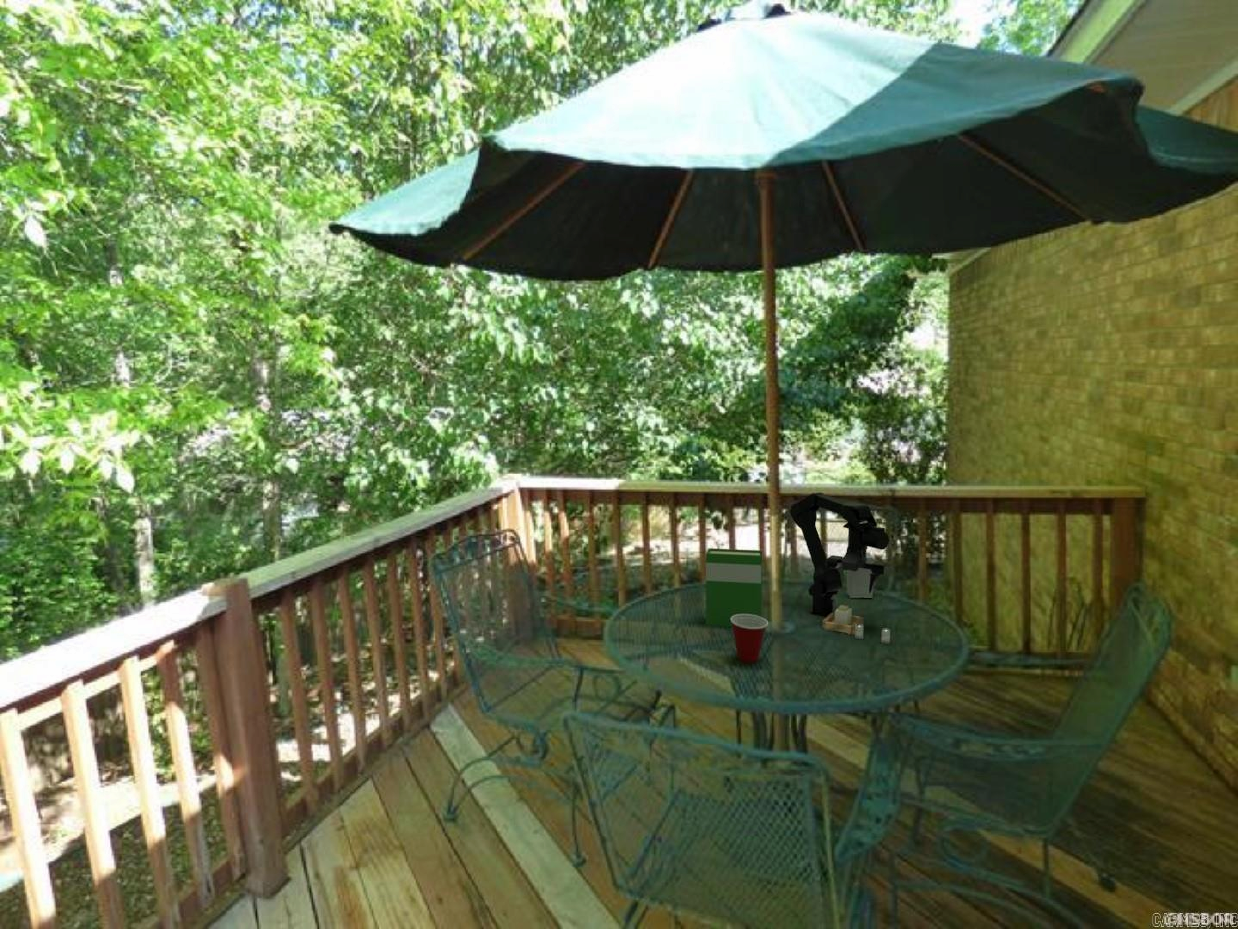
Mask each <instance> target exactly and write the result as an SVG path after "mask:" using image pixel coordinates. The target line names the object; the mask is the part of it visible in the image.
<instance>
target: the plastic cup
mask: <svg viewBox="0 0 1238 929" xmlns="http://www.w3.org/2000/svg"><path fill="white" fill-rule="evenodd" d="M730 619H731V622H732V626H733V627H732V631H733V636H734V637H733V638H734V644H735V645H734V646H735V648H736V654H737V659H738V660H739V661H740V662H742V663H748V664H750V663H756V662H758V660H759V658H760V652H761V649H762V643H763V638H764V635H765V634H764V633H765V631H766V628H767V627H768V624H769V622H768V620H767V619H766V618H764V617H762V616H761V617H760V616H757V615H751V614H737V615H734V616H732V617H731V618H730Z"/></svg>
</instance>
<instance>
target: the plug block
mask: <svg viewBox="0 0 1238 929" xmlns="http://www.w3.org/2000/svg"><path fill="white" fill-rule="evenodd" d="M852 610H853V608H849V606H848V605H843V604H840V605H839V606H838V607H837V608H836V609H835V611H834V613H835V622H834V623H838V624H844V625H850V624H851V615H852Z"/></svg>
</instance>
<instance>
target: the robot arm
mask: <svg viewBox="0 0 1238 929" xmlns="http://www.w3.org/2000/svg"><path fill="white" fill-rule="evenodd" d="M821 508H822V509H824V510H827V511H829V512H831V513H834V514H837V515H839V516H841V517H842V519H843V520H844V521H846V523H845V524H844V525H842V526H843V528H845V529H847V530H848V536H847V541H848V542H847V547H846V552H845V554H844V556H842V555H841V556H840V555H835V554H832V555H830V556H829V557H827V555H826V552H825V549H824V546H823V544H822V541H821V538H820V534H819V531H818V529H817V526H816V525H817V524H816V523H817V519H818V515H817V511H819V510H820V509H821ZM789 514H790V517H791V518H792V520H793V523H794V524H795V525H796V526H797V527H799V528H800V530H801V532H802V535H803V538H804V541H805V544H806V547H807V551H808V552H809V557H810V559H811V562H812V564H813V569H814V571H813V575H812V579H813V584H812V585H811V586H810V587H809V588H807V589H808V590H807V591H808V594H809V596H810V597H812V609H811V610H810V614H814V615H820V616H825V617H828V616H829V615H830V614H831V613H835V610H836V609H835V607H836V606H835V605H836V600H835V599H834V595H835V596H836V595H838V593H839V591H840V589H843V588H844V582H845V579H844V578H845V576H844V575H845V572H844V571H847V570H851V571H854V572H855V571H857V570H858V568H864V569H871V571H872V573H871V574H870V585H869V593H871V592H872V590H874V587H875V585H876V583H877V580H878V579H879V577H881V576H883V575H885V574H886V573H888V572H889V564H888V562H887V561H878V560H876V561H873V564H871V563H866V561H867V558H866V553H867V550H868V547H869V548H873V549H876V550H880V551H882V550H885V549H886V548H888V545H889V542H890V537H889V534H888V533H887V531H885V527H882V526H880V527H879V525H878V523H877V520H876V519H875V518H874V515H873V513H872V511H871V509H870V506H869V505H868V504H864V503H857V502H854V503H853V502H847V501H844V500H841V499H838V498H835V497H833V496H830V495H827V494H824V493H823V492H813V493H809V495H808V496H806V497H805V498H803V499H802V500H799V501H797V502H796V503H792V505H791V507H790V509H789Z"/></svg>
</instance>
